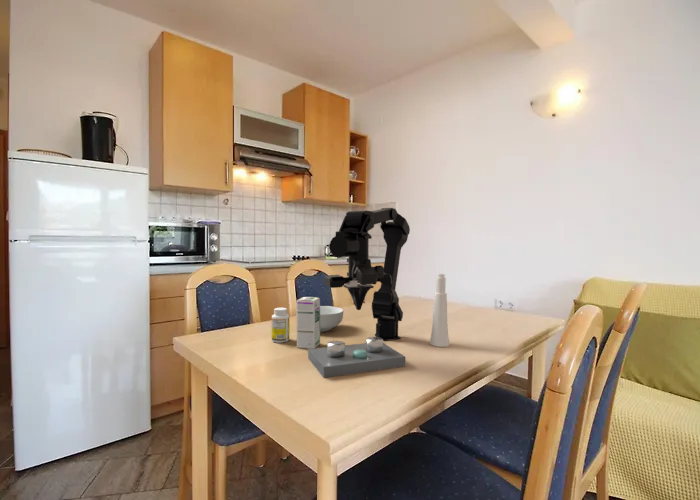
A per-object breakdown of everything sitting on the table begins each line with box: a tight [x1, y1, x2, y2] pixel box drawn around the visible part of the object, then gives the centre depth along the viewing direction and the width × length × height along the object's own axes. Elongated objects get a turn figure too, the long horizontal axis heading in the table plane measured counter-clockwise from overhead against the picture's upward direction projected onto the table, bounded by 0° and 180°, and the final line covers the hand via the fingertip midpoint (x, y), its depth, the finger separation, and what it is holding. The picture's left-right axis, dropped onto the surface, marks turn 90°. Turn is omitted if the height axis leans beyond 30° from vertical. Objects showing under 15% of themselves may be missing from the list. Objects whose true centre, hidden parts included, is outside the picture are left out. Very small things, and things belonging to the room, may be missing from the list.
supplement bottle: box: [271, 307, 290, 344], centre depth 111 cm, size 6×6×10 cm
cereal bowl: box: [295, 305, 344, 333], centre depth 127 cm, size 17×17×7 cm
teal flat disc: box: [353, 350, 367, 359], centre depth 90 cm, size 4×4×1 cm
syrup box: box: [296, 296, 321, 350], centre depth 106 cm, size 6×6×14 cm
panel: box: [307, 342, 406, 378], centre depth 93 cm, size 22×14×2 cm, turn 112°
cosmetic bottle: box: [429, 273, 451, 348], centre depth 110 cm, size 6×6×22 cm
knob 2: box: [365, 336, 384, 353], centre depth 95 cm, size 5×5×6 cm
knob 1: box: [326, 340, 346, 358], centre depth 91 cm, size 5×5×6 cm
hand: (358, 309), depth 100 cm, fingers closed
